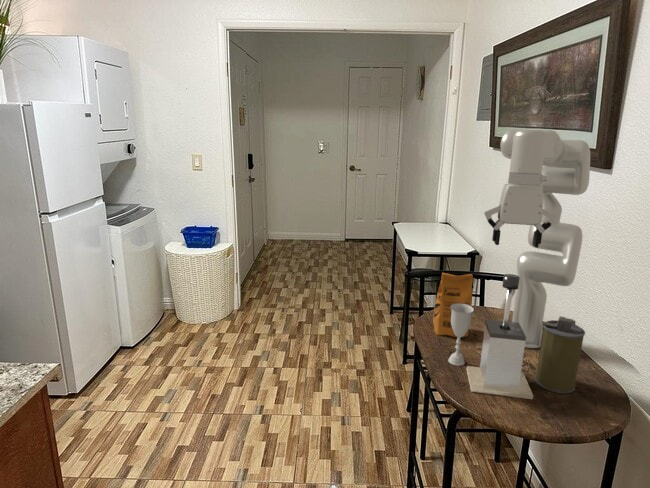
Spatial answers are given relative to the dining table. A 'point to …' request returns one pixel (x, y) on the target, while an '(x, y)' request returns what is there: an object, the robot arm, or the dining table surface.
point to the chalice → (459, 328)
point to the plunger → (509, 295)
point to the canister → (559, 355)
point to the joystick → (501, 362)
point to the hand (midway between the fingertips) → (515, 245)
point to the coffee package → (451, 301)
